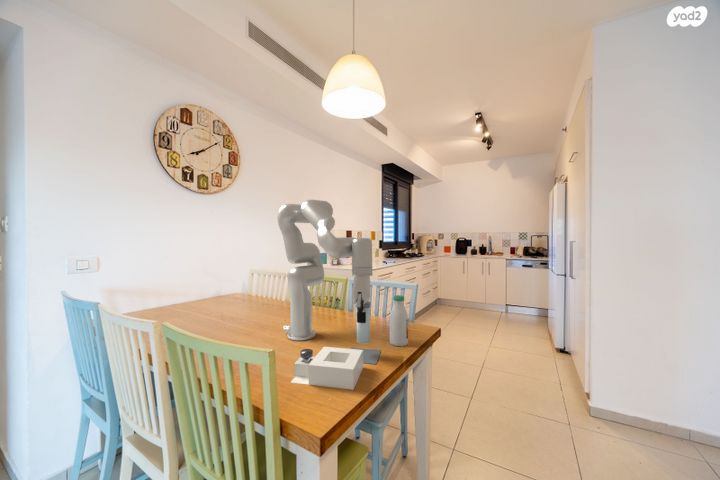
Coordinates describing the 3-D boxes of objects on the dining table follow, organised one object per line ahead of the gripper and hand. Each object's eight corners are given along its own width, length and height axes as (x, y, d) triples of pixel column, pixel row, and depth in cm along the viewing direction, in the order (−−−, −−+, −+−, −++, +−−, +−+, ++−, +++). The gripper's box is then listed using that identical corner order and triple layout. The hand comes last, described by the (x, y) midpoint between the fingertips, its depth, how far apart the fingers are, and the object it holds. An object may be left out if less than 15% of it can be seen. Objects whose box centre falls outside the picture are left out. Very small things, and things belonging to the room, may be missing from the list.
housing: (288, 385, 88) (288, 362, 88) (306, 364, 102) (306, 345, 102) (353, 392, 84) (353, 369, 84) (363, 370, 98) (363, 349, 97)
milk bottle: (403, 348, 116) (403, 299, 115) (386, 344, 120) (386, 296, 119) (410, 342, 122) (410, 295, 122) (394, 338, 126) (394, 293, 126)
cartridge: (364, 345, 102) (363, 305, 102) (352, 341, 106) (352, 303, 106) (374, 340, 107) (373, 302, 106) (362, 337, 110) (362, 300, 110)
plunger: (298, 373, 93) (298, 353, 93) (303, 367, 97) (303, 348, 97) (310, 374, 92) (309, 354, 92) (314, 368, 96) (314, 349, 96)
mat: (342, 364, 102) (342, 360, 102) (351, 350, 114) (351, 347, 114) (376, 367, 100) (376, 363, 100) (381, 352, 111) (381, 349, 111)
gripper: (357, 268, 115) (358, 313, 115) (346, 274, 98) (347, 327, 99) (376, 268, 113) (376, 314, 114) (368, 274, 97) (368, 328, 97)
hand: (363, 319), depth 106 cm, fingers closed on cartridge, 5 cm apart
